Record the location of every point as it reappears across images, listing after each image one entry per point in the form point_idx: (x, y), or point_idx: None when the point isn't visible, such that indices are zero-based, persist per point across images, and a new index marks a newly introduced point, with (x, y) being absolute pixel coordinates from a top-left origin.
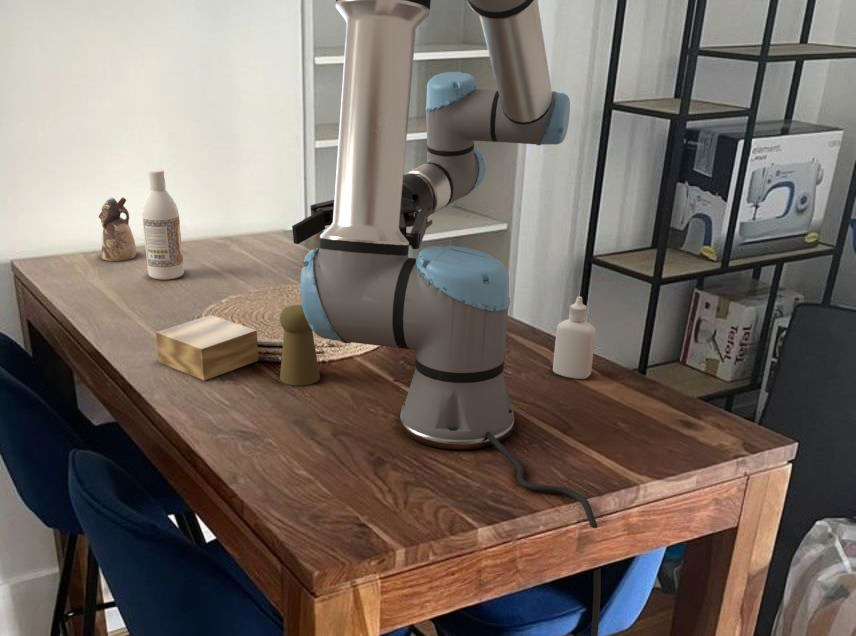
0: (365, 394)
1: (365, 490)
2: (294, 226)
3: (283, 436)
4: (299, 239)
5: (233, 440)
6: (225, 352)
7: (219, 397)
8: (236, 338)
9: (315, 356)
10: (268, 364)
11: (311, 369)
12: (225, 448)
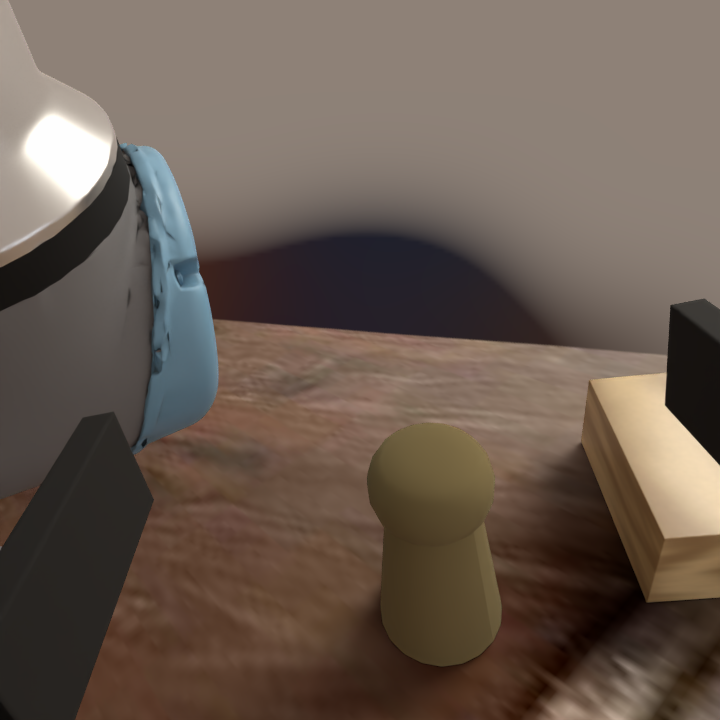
0: (208, 661)
1: None
2: (688, 304)
3: (237, 417)
4: (678, 397)
5: (298, 367)
6: (609, 457)
7: (471, 423)
8: (629, 469)
9: (390, 590)
10: (598, 607)
11: (381, 582)
12: (287, 351)
